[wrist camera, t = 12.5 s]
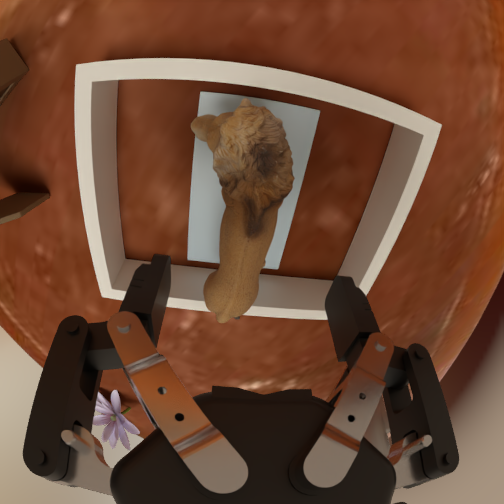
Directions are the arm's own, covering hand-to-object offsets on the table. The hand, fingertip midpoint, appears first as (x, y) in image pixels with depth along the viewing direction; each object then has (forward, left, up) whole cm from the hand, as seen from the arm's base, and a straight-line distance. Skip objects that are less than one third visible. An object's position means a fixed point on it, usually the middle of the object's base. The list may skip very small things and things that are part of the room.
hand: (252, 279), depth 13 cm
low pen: (0, 0, -10) cm, 10 cm away
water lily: (+20, +45, -10) cm, 50 cm away
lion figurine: (+1, +2, -8) cm, 8 cm away
